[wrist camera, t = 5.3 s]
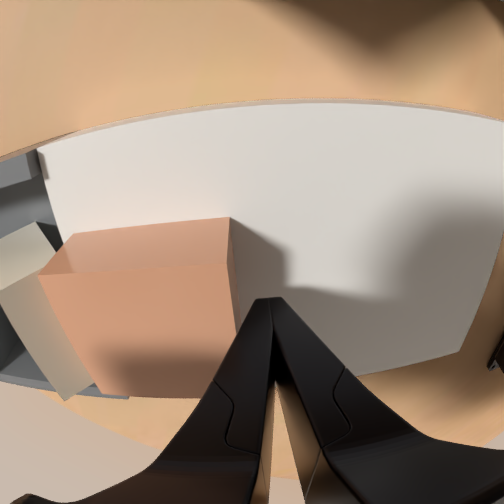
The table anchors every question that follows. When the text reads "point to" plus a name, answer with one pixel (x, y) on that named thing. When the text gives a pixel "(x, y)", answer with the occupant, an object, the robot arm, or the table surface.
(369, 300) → the board
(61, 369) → the tile
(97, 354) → the tile
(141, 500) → the robot arm
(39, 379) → the tray
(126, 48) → the table surface
